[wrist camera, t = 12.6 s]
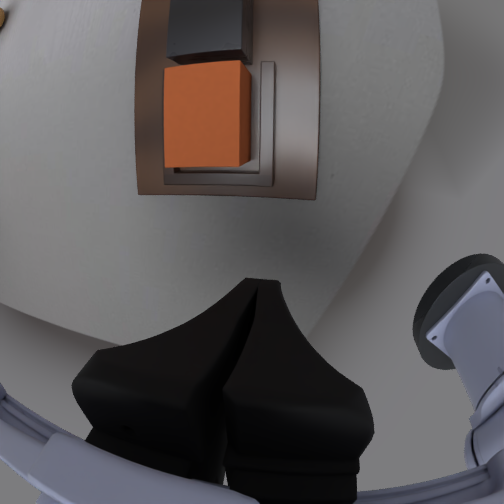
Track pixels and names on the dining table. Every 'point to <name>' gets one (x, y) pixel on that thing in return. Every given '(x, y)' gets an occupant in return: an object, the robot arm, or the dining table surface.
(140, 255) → the dining table surface
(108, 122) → the dining table surface
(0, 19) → the figurine
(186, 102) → the terracotta pad
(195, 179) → the board
